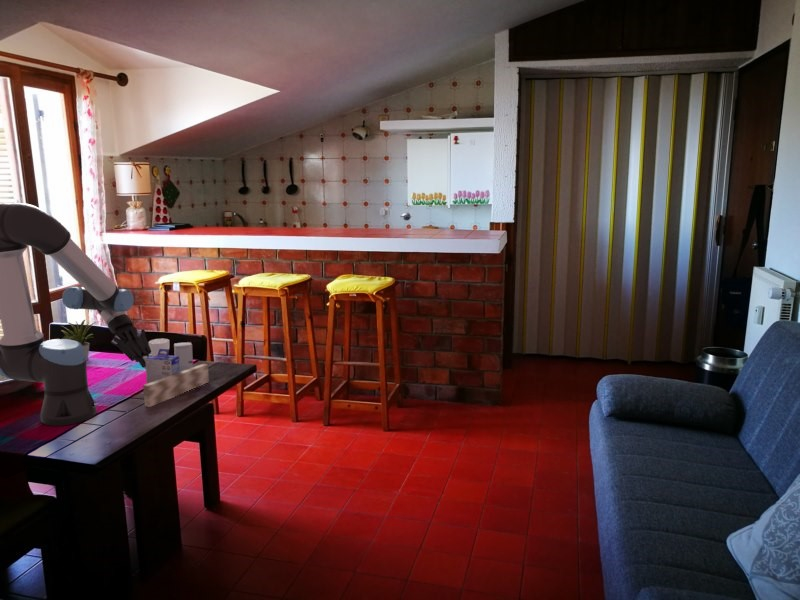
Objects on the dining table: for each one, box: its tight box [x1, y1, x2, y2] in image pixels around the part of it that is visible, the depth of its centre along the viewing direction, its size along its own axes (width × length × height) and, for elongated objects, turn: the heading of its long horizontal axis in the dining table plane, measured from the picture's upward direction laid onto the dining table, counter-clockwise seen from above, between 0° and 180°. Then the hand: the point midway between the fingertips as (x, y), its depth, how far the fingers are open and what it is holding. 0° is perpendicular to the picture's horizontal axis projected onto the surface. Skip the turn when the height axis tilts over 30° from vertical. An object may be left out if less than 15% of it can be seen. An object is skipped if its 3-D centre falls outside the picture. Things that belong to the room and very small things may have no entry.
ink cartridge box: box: [145, 349, 180, 384], centre depth 207 cm, size 10×6×14 cm, turn 80°
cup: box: [148, 338, 170, 356], centre depth 247 cm, size 8×10×7 cm
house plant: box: [60, 319, 101, 360], centre depth 243 cm, size 14×14×16 cm
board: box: [142, 363, 210, 408], centre depth 206 cm, size 26×2×7 cm, turn 152°
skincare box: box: [173, 341, 194, 372], centre depth 224 cm, size 6×4×12 cm
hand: (153, 373), depth 212 cm, fingers closed
